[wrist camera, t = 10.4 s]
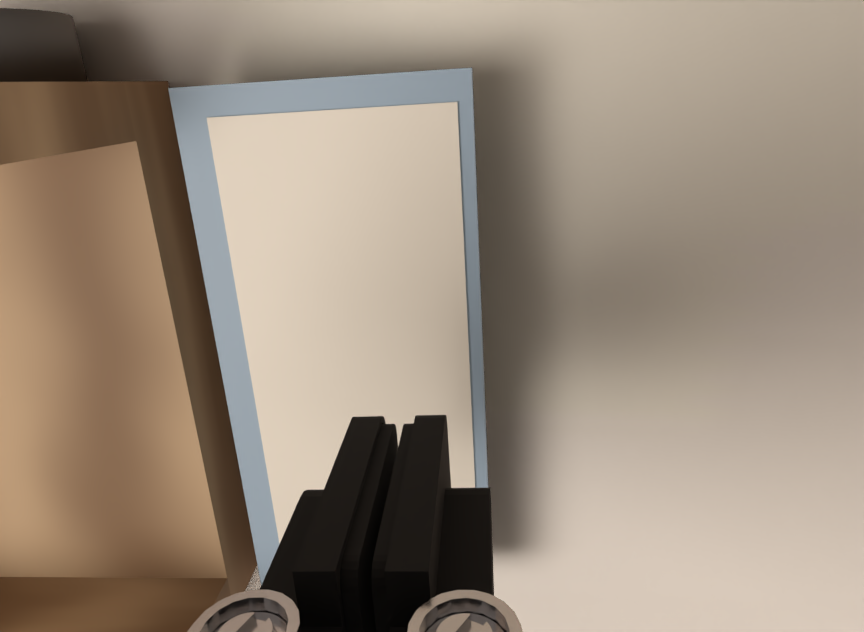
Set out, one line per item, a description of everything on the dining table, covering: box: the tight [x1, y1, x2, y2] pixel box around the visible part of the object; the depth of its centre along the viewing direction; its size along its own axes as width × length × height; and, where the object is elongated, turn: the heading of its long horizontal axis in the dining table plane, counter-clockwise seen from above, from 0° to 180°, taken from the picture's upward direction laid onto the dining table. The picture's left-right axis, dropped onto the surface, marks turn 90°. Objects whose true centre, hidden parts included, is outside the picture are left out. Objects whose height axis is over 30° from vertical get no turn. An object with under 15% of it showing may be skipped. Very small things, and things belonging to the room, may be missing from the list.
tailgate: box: [168, 68, 488, 585], centre depth 15 cm, size 1×14×6 cm
